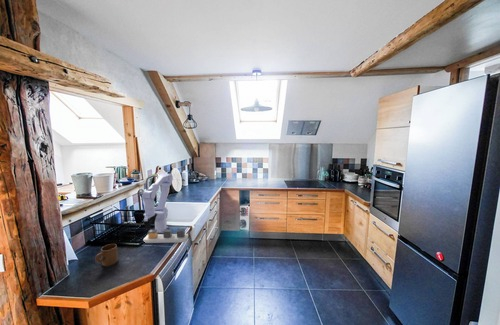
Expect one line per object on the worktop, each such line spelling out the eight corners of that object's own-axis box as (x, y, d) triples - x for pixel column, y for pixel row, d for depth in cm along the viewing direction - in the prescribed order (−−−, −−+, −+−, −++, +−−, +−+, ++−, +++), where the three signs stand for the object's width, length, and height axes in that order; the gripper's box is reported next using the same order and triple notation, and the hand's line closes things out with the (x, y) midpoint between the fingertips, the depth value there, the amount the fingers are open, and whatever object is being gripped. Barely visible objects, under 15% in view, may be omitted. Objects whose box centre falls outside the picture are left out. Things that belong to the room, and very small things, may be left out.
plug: (150, 238, 142) (150, 229, 141) (157, 238, 142) (157, 229, 141) (148, 241, 138) (148, 232, 137) (155, 241, 139) (155, 231, 138)
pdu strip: (147, 237, 143) (147, 228, 142) (188, 237, 145) (187, 227, 144) (143, 243, 136) (142, 233, 135) (185, 242, 138) (185, 232, 137)
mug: (102, 273, 107) (100, 256, 105) (90, 270, 108) (89, 254, 107) (121, 259, 118) (120, 244, 117) (110, 257, 120) (109, 242, 119)
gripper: (147, 204, 145) (148, 222, 147) (138, 212, 130) (139, 231, 132) (158, 204, 145) (159, 222, 147) (150, 211, 131) (151, 231, 133)
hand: (150, 226), depth 140 cm, fingers open, 7 cm apart
